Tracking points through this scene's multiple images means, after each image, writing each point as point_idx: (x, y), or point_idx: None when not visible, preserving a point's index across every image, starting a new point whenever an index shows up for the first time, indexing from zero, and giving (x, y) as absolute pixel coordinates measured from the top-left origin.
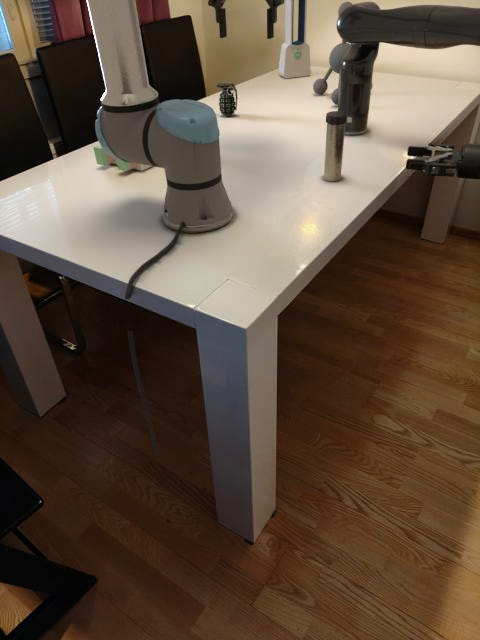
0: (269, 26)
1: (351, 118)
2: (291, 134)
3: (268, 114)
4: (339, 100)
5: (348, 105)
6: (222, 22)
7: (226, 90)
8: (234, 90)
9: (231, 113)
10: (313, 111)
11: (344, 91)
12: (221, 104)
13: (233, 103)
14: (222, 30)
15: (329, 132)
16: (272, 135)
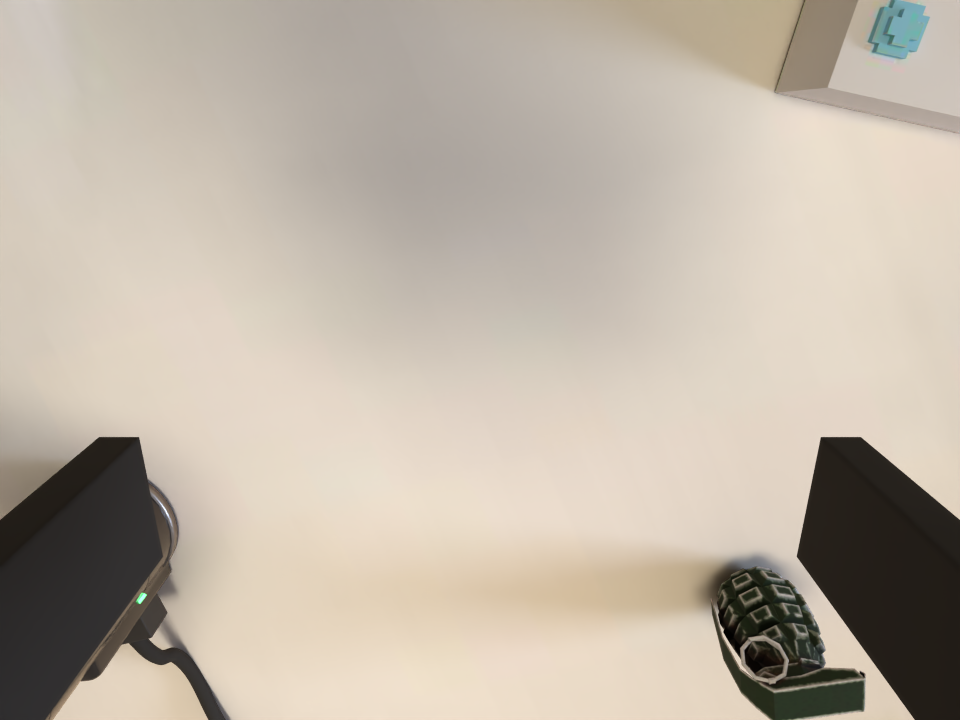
0: (3, 523)
1: None
2: (340, 416)
3: (560, 640)
4: None
5: None
6: (936, 586)
7: (792, 663)
8: (742, 663)
9: (726, 583)
10: (380, 713)
11: None
12: (789, 594)
13: (730, 620)
14: (869, 500)
15: None
16: (421, 380)
